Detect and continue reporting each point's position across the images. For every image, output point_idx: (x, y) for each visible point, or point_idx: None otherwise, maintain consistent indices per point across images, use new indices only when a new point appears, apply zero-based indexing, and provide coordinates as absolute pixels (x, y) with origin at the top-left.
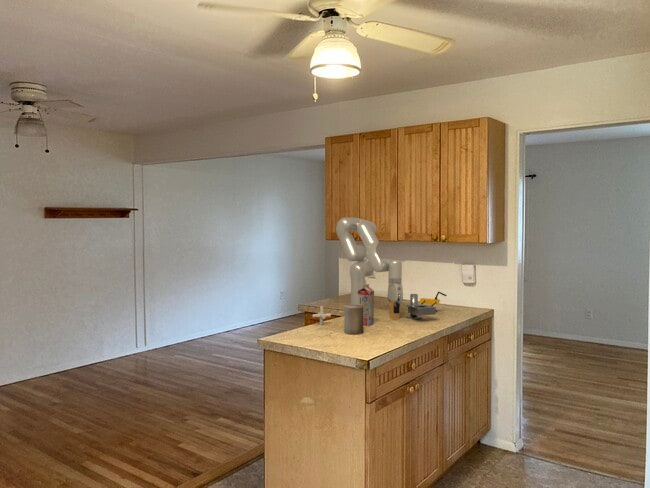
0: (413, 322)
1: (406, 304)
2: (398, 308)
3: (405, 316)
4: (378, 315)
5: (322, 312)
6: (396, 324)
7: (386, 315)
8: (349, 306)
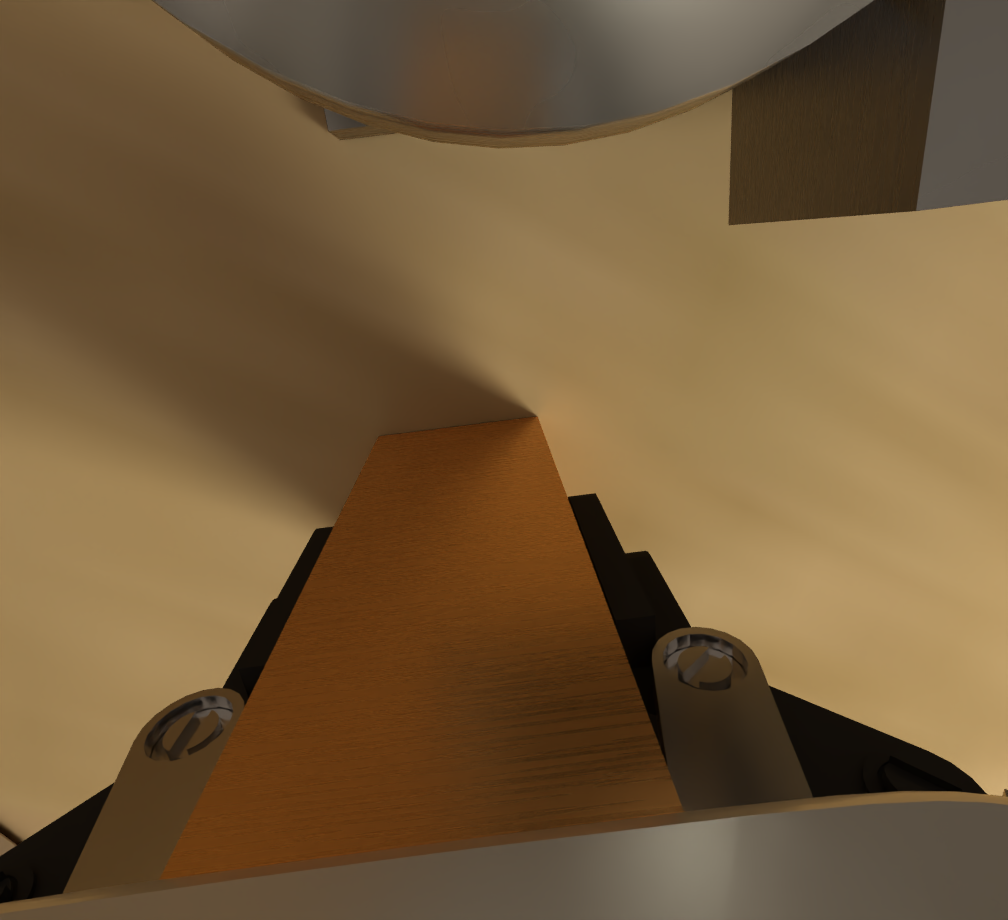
0: (995, 261)
1: (403, 36)
2: (678, 620)
3: (343, 135)
4: (48, 661)
5: None
6: (957, 657)
7: (42, 511)
8: None
